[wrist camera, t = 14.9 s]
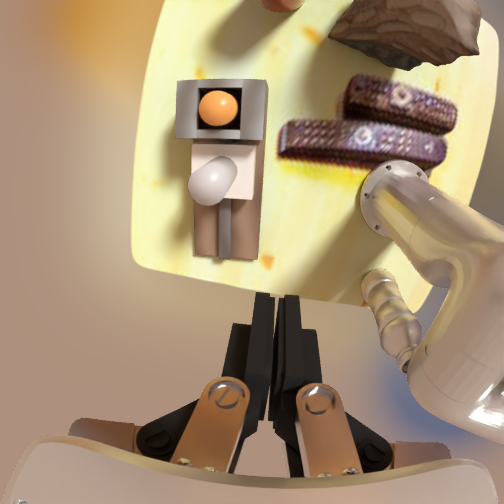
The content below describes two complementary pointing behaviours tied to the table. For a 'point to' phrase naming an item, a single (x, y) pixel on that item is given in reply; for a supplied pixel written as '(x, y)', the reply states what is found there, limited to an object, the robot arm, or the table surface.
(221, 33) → the table surface
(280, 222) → the table surface
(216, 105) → the button
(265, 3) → the soda can
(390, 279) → the plastic bottle
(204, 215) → the rail base
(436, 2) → the brown rock
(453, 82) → the table surface
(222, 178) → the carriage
